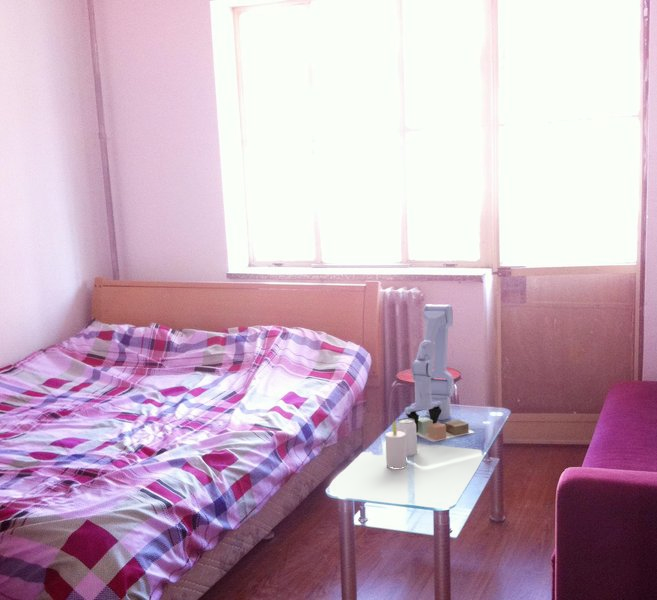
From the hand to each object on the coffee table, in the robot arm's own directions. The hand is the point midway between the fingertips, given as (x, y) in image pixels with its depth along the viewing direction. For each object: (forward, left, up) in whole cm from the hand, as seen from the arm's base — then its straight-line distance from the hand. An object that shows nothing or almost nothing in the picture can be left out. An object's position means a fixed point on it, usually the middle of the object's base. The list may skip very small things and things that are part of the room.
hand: (424, 429), depth 275 cm
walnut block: (+7, +9, -1) cm, 11 cm away
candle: (+21, -25, -2) cm, 33 cm away
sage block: (0, 0, -1) cm, 1 cm away
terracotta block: (+8, 0, -1) cm, 8 cm away
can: (+15, -17, -2) cm, 23 cm away
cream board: (+4, +5, -2) cm, 7 cm away
